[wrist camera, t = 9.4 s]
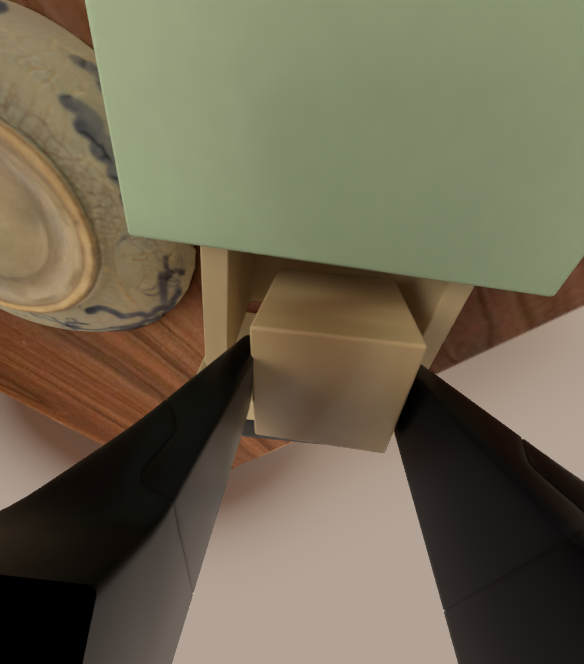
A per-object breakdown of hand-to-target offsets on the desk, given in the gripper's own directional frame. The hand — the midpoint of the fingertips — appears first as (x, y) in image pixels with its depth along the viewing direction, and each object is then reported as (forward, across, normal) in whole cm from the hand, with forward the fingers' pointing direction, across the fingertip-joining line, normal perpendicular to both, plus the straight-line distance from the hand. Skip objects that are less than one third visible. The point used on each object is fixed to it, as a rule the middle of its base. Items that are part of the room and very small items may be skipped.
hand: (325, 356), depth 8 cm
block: (+2, 0, 0) cm, 2 cm away
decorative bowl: (+8, +14, -1) cm, 16 cm away
